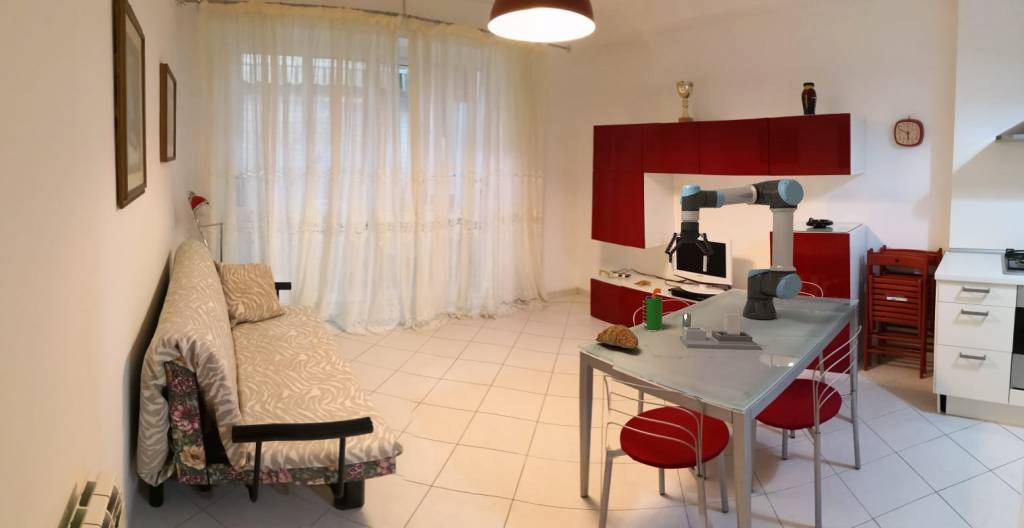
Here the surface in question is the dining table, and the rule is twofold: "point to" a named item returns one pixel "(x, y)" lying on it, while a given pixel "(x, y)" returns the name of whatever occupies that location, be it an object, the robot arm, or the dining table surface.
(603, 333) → the pastry
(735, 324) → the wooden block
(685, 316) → the rounded metal cylinder
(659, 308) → the motor
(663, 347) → the dining table surface
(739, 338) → the stand
